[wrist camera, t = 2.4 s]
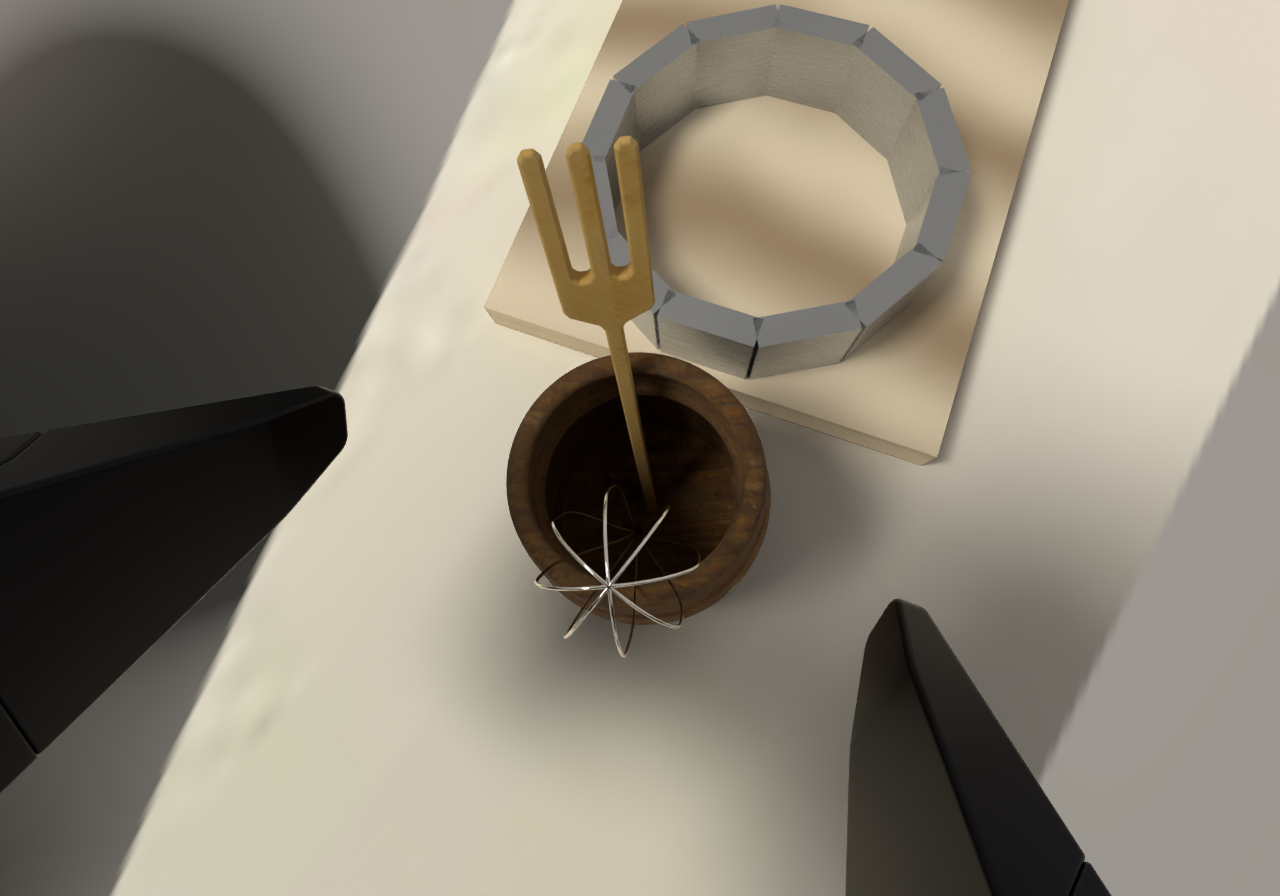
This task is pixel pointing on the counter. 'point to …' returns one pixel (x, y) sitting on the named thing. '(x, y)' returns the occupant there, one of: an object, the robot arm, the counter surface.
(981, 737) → the robot arm
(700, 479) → the utensil holder
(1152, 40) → the counter surface
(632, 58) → the wooden stand with ring
